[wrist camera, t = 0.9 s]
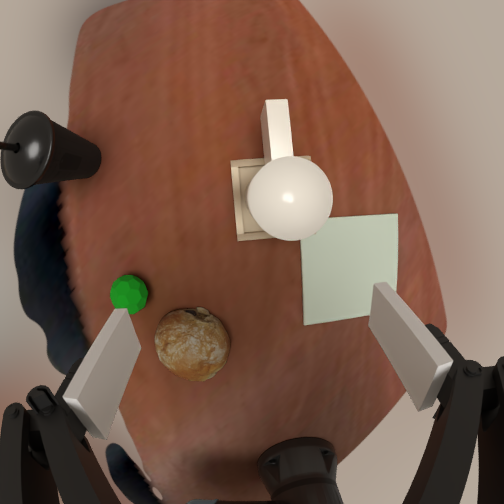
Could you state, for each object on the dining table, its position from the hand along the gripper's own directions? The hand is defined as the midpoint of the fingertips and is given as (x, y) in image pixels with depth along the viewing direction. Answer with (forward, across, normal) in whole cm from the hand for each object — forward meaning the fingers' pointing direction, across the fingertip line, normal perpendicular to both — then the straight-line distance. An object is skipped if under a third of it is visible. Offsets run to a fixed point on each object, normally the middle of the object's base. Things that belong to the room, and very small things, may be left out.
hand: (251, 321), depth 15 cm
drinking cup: (+24, +20, -10) cm, 33 cm away
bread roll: (+19, +9, +16) cm, 27 cm away
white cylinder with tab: (+23, -4, -5) cm, 23 cm away
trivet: (+21, -13, +8) cm, 26 cm away
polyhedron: (+20, +16, +8) cm, 27 cm away
